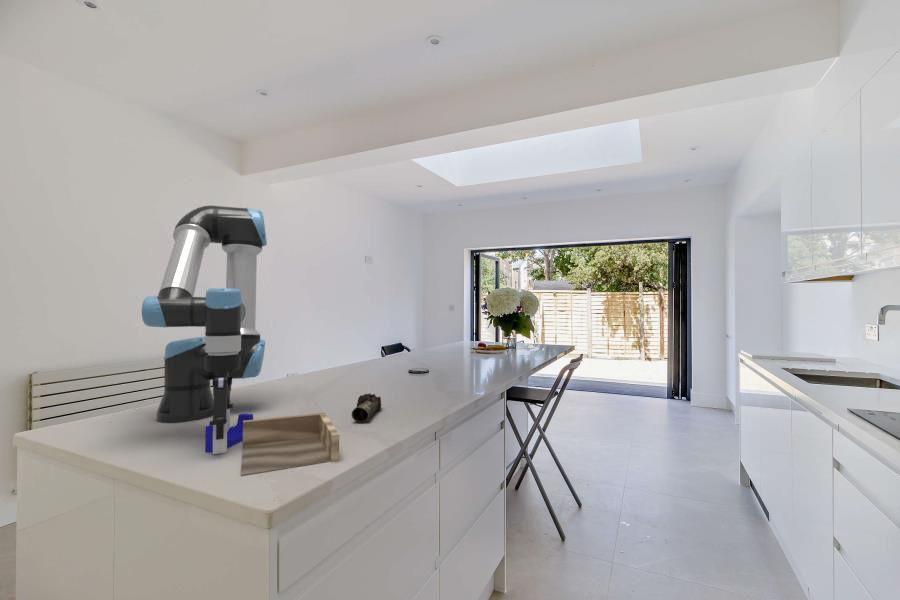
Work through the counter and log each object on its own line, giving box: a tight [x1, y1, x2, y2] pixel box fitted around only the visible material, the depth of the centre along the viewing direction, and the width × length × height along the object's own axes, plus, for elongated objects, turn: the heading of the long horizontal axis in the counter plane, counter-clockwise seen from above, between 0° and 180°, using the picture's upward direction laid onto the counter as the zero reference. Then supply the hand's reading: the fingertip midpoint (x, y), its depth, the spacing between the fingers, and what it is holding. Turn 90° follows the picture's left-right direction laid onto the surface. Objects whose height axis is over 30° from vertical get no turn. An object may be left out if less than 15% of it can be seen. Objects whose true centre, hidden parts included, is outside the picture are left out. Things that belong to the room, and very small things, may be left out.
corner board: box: [240, 412, 340, 477], centre depth 94 cm, size 20×18×6 cm
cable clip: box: [204, 412, 254, 454], centre depth 100 cm, size 12×4×6 cm, turn 168°
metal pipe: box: [351, 392, 382, 424], centre depth 125 cm, size 18×7×6 cm, turn 175°
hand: (221, 444), depth 100 cm, fingers open, 13 cm apart
